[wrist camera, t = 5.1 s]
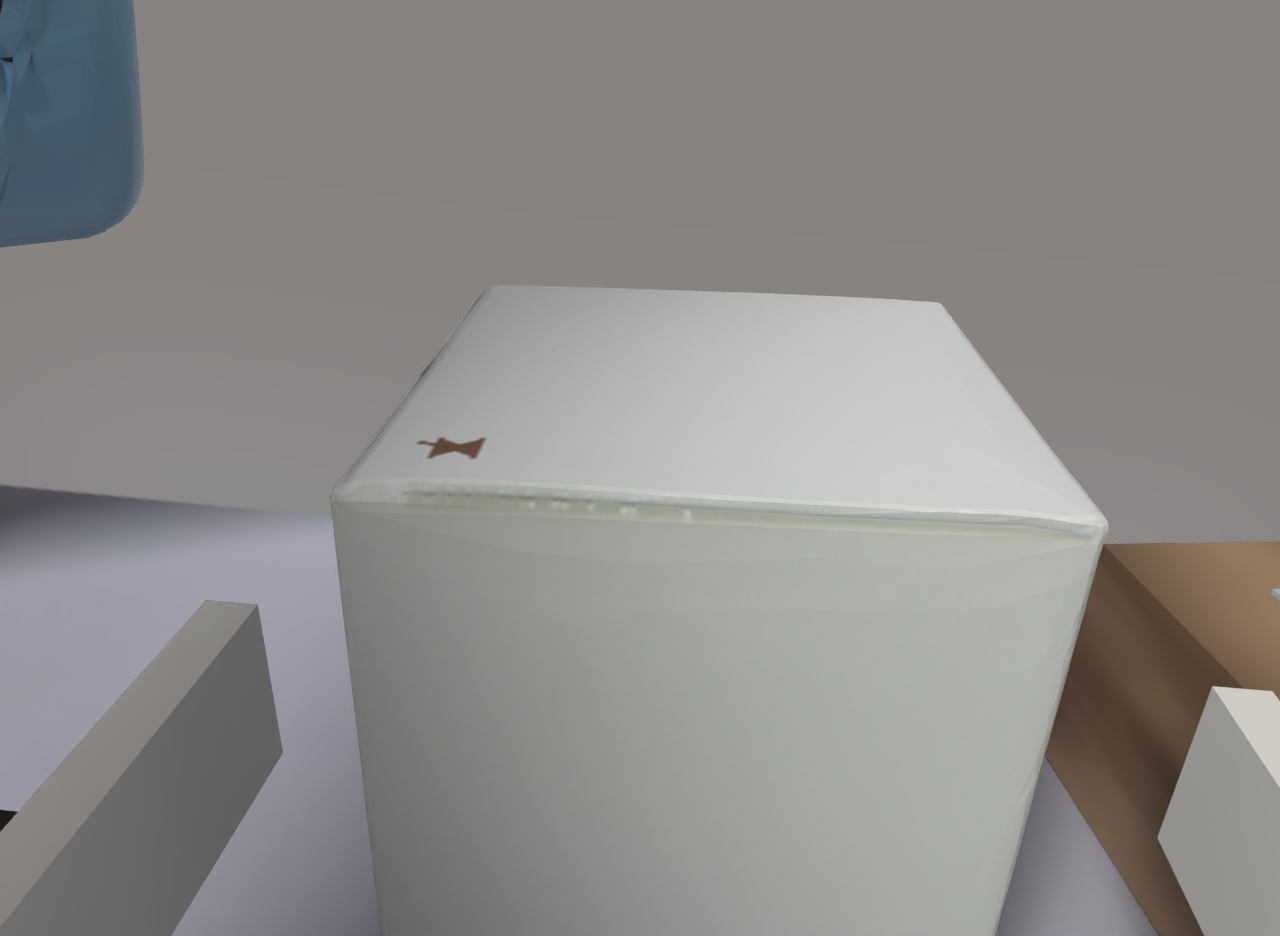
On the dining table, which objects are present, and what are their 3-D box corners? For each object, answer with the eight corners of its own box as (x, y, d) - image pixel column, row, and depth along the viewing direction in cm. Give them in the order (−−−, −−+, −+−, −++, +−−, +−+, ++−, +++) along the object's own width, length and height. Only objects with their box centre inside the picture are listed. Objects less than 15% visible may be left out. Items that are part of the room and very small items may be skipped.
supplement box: (915, 1302, 14) (1143, 532, 8) (402, 1250, 14) (292, 480, 9) (851, 879, 21) (955, 291, 15) (501, 851, 21) (476, 268, 15)
